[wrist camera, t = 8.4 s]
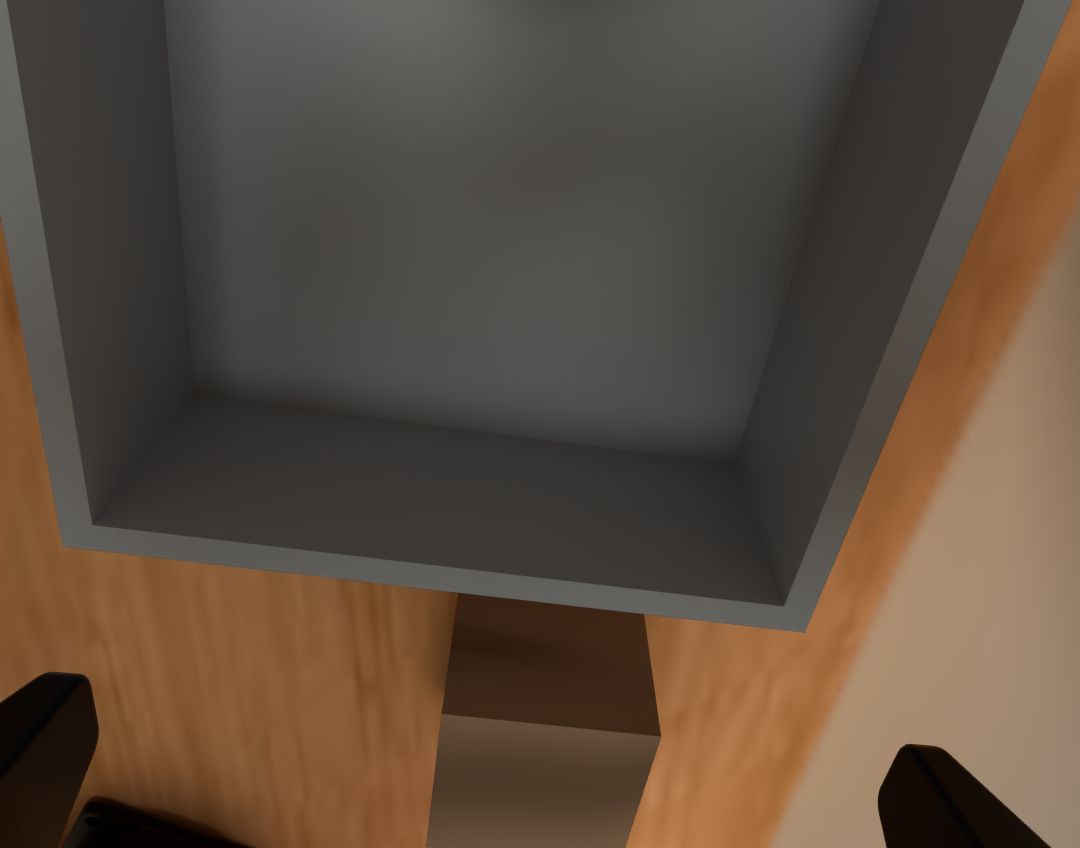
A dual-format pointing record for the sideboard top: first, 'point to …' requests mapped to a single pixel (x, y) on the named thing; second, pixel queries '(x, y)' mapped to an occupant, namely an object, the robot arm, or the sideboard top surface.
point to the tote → (494, 278)
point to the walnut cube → (543, 727)
